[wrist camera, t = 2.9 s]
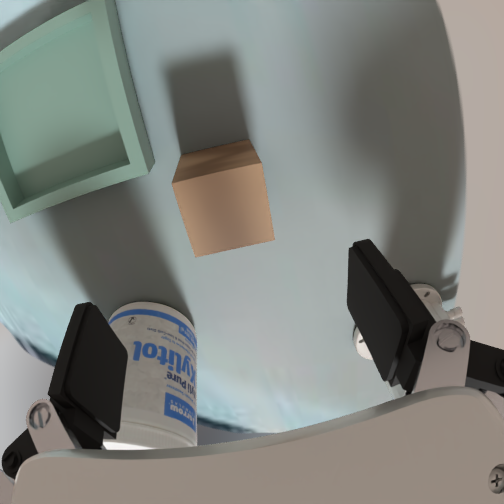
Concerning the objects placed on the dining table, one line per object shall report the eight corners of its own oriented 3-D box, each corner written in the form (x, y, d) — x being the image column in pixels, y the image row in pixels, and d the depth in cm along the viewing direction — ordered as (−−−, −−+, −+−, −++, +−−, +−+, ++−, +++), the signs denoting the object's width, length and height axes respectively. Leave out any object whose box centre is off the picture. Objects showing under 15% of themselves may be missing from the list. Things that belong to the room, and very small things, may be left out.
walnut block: (249, 139, 21) (261, 162, 16) (260, 200, 24) (274, 239, 19) (181, 154, 21) (171, 183, 16) (198, 214, 24) (195, 257, 19)
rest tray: (115, 1, 14) (103, -6, 12) (155, 162, 21) (148, 173, 19) (-19, 77, 14) (-37, 81, 11) (24, 209, 21) (10, 223, 19)
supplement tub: (210, 314, 30) (219, 457, 18) (180, 365, 34) (180, 482, 22) (116, 283, 26) (78, 429, 14) (101, 342, 31) (78, 461, 18)
